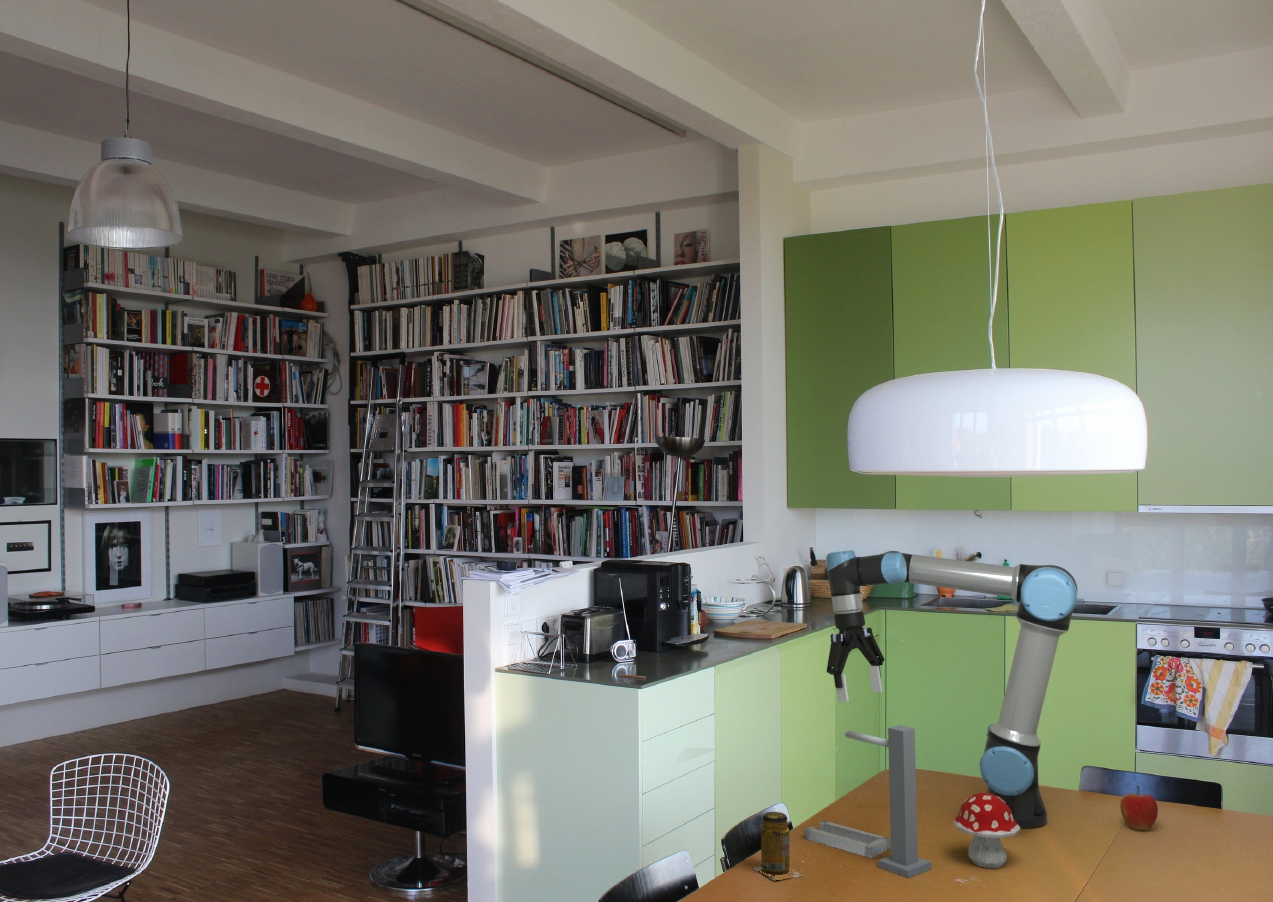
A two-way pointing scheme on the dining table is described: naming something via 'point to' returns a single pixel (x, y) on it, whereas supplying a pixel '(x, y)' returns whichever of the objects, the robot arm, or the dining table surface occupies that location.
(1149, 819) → the apple
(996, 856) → the decorative mushroom
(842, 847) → the c link
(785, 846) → the condiment
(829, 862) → the dining table surface
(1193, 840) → the dining table surface
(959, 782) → the dining table surface
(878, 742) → the hook stand
